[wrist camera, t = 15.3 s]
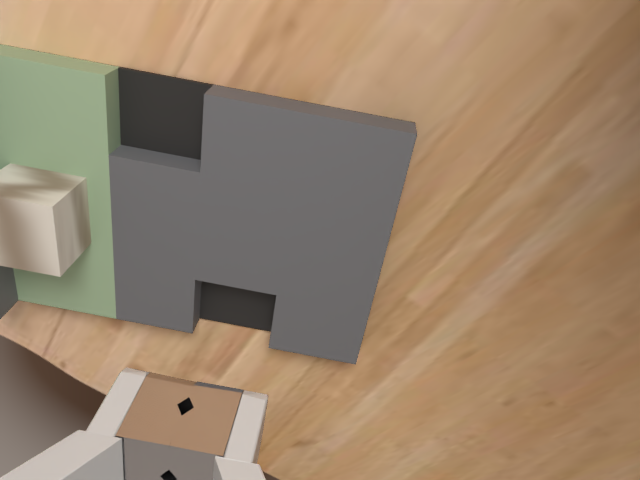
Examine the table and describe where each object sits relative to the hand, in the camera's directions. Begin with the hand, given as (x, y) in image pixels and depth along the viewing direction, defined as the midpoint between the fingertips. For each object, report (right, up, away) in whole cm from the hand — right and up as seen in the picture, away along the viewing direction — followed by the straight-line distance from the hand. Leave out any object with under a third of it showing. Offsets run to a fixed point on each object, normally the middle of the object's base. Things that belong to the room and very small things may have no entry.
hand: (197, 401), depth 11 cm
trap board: (-8, +6, +34) cm, 35 cm away
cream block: (-19, +6, +32) cm, 38 cm away
